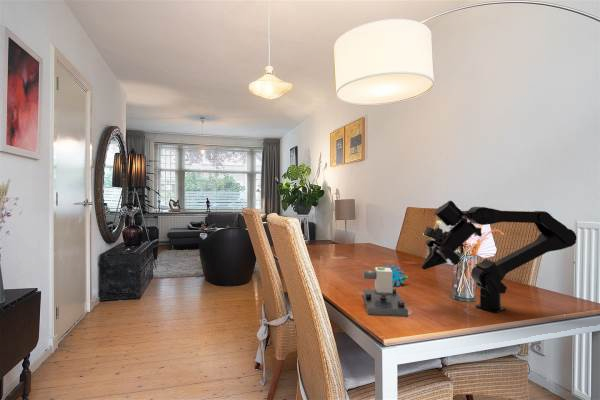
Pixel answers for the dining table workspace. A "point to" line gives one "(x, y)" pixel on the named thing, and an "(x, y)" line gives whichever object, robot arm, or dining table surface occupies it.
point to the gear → (397, 276)
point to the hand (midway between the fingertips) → (422, 268)
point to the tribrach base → (384, 304)
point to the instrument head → (381, 280)
